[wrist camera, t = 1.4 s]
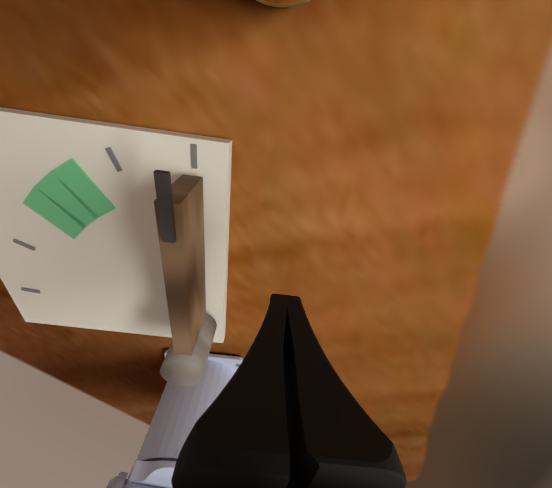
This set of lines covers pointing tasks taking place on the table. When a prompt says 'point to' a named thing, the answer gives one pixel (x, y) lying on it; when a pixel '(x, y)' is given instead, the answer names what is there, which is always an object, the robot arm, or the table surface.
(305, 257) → the table surface
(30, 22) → the table surface
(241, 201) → the table surface
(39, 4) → the table surface
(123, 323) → the tuner dial board
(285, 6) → the sauce bottle
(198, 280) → the tuning lever
